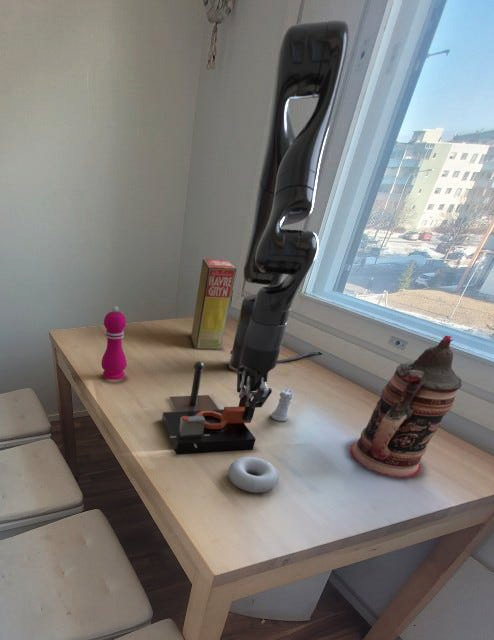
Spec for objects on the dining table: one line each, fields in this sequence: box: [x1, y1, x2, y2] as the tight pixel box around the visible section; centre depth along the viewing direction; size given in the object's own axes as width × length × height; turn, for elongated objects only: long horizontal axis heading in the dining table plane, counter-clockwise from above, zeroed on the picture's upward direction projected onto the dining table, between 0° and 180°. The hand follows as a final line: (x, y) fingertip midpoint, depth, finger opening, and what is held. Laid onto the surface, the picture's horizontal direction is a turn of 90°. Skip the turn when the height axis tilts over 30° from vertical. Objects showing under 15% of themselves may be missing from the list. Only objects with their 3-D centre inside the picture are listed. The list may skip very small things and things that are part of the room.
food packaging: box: [190, 258, 237, 350], centre depth 138 cm, size 13×9×25 cm
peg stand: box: [169, 360, 220, 412], centre depth 105 cm, size 11×10×12 cm
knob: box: [178, 416, 205, 439], centre depth 90 cm, size 5×2×5 cm, turn 99°
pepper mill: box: [100, 305, 128, 381], centre depth 115 cm, size 7×7×20 cm
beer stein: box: [349, 335, 463, 480], centre depth 85 cm, size 17×28×18 cm
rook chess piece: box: [270, 389, 295, 422], centre depth 102 cm, size 4×4×8 cm
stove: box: [161, 408, 257, 456], centre depth 96 cm, size 19×16×3 cm
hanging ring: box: [196, 406, 252, 429], centre depth 96 cm, size 13×7×3 cm, turn 99°
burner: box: [194, 415, 230, 433], centre depth 97 cm, size 9×9×1 cm
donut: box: [227, 456, 280, 494], centre depth 84 cm, size 10×4×10 cm
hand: (244, 416), depth 97 cm, fingers closed
